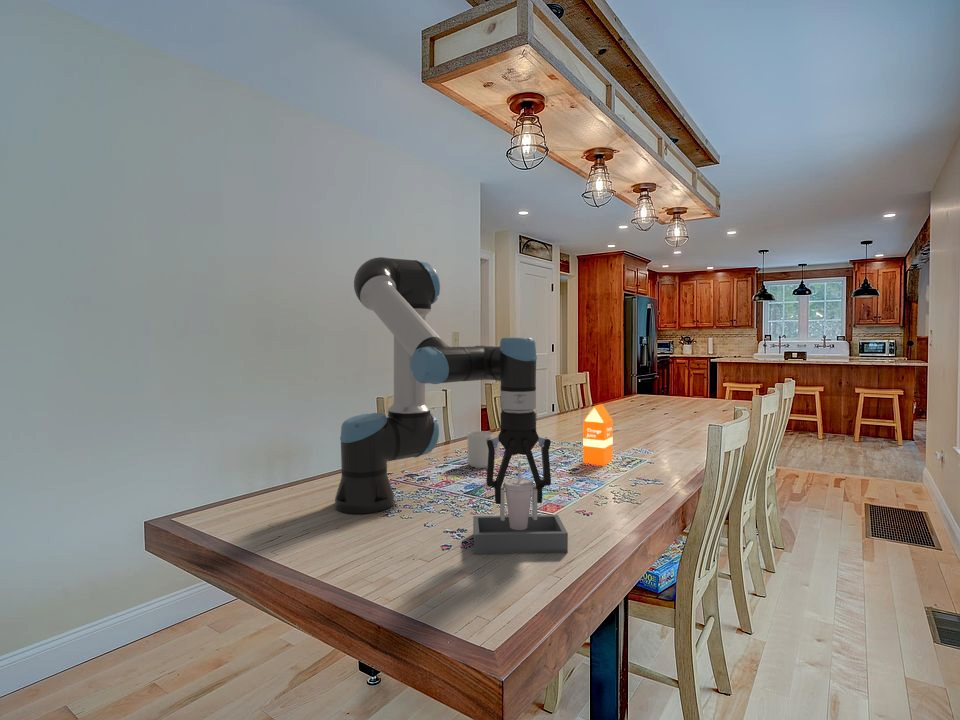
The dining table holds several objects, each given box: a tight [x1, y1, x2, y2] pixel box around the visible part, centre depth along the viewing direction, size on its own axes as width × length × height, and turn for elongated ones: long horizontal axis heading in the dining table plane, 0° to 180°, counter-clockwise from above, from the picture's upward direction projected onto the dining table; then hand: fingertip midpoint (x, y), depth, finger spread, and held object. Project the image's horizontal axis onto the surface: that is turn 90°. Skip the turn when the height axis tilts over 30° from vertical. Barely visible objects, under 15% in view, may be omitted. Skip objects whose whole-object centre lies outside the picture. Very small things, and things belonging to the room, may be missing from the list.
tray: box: [472, 514, 569, 555], centre depth 113 cm, size 11×19×4 cm, turn 92°
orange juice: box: [582, 403, 614, 467], centre depth 184 cm, size 8×9×20 cm
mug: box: [466, 430, 501, 469], centre depth 178 cm, size 12×9×11 cm
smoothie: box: [502, 461, 535, 530], centre depth 112 cm, size 6×6×14 cm
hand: (518, 517), depth 113 cm, fingers closed on smoothie, 6 cm apart
